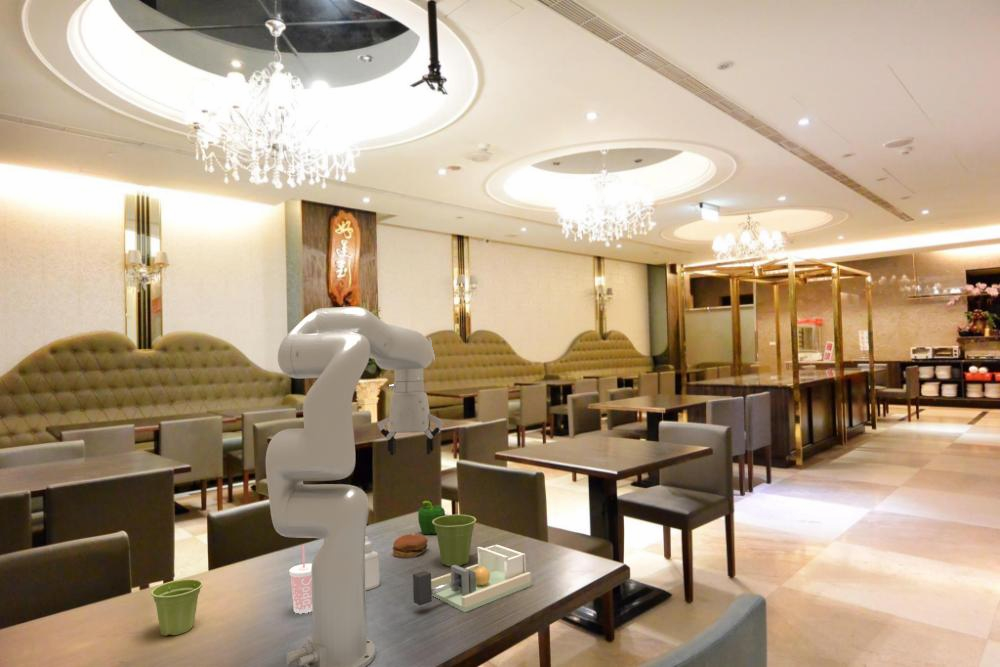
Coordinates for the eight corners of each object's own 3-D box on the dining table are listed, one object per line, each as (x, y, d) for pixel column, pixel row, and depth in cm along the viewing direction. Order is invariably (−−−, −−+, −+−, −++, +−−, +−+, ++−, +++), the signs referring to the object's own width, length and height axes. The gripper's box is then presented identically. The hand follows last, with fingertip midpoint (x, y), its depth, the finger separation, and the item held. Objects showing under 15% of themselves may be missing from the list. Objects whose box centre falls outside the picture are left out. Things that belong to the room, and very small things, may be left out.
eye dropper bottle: (378, 589, 137) (377, 538, 138) (354, 592, 136) (353, 540, 137) (380, 582, 141) (378, 533, 142) (356, 584, 140) (355, 535, 141)
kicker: (423, 609, 122) (422, 578, 122) (410, 602, 125) (409, 572, 126) (476, 590, 131) (475, 561, 131) (462, 584, 135) (461, 556, 135)
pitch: (464, 612, 123) (463, 575, 123) (427, 593, 134) (426, 559, 134) (531, 585, 136) (530, 552, 137) (493, 570, 147) (492, 539, 147)
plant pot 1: (191, 615, 126) (191, 575, 127) (210, 626, 120) (210, 584, 121) (144, 632, 119) (143, 589, 120) (162, 645, 113) (161, 600, 114)
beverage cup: (288, 617, 124) (287, 551, 124) (291, 605, 130) (290, 542, 130) (318, 613, 125) (317, 548, 126) (319, 601, 131) (318, 539, 132)
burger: (394, 560, 157) (393, 543, 157) (392, 549, 166) (392, 533, 167) (430, 556, 160) (429, 539, 160) (426, 546, 169) (426, 530, 169)
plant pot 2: (483, 565, 150) (482, 522, 151) (440, 573, 146) (438, 528, 147) (469, 552, 161) (468, 511, 162) (428, 559, 157) (427, 517, 158)
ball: (480, 589, 132) (479, 572, 133) (469, 584, 135) (469, 567, 136) (493, 584, 135) (493, 567, 135) (482, 580, 138) (482, 563, 138)
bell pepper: (448, 528, 185) (447, 497, 185) (442, 536, 177) (441, 503, 177) (422, 528, 186) (421, 497, 186) (415, 536, 178) (414, 503, 178)
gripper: (372, 390, 147) (374, 457, 146) (439, 387, 146) (441, 455, 145) (380, 388, 155) (382, 452, 154) (444, 386, 153) (446, 450, 153)
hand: (411, 454), depth 149 cm, fingers open, 9 cm apart
